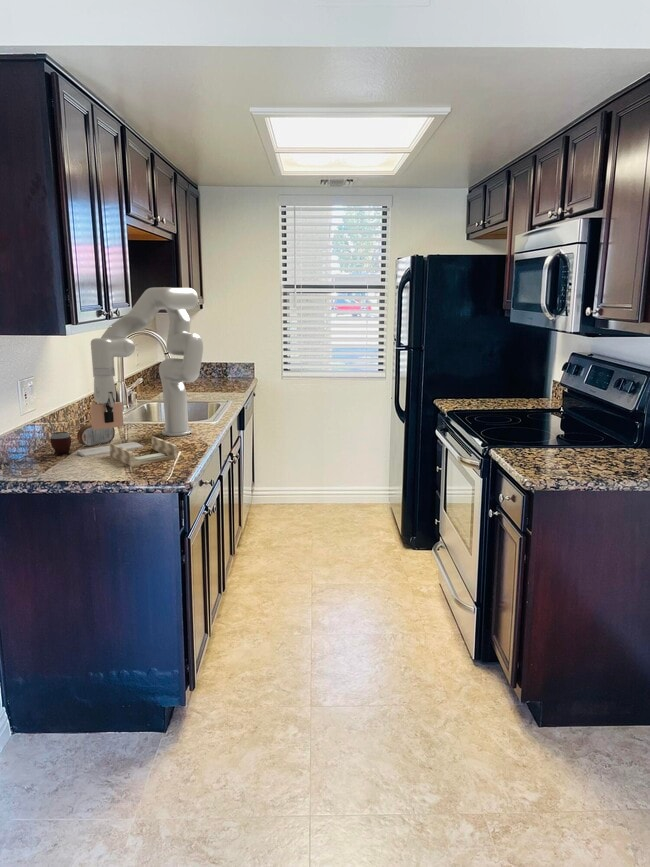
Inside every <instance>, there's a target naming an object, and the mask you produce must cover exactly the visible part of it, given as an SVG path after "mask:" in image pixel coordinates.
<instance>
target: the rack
mask: <svg viewBox="0 0 650 867" xmlns="http://www.w3.org/2000/svg"><path fill="white" fill-rule="evenodd" d="M108 444H109V445H108V446H110V453H109V456H110V457H111V458H114V459H116V460H118V461H120V462H121V463H124V464H126V465H128V466H130V467H135V466H140V465H146V464H151V463H157V462H162V461H168V460H173V459H178V447H177V444H174V443H172V442H170V441H167V440H164V439H161V438H159V437H156V436H151V450H153V451H157V453H162V454H165V456H163V457H158V458H152V459H146V460H141V461H135V462H134V458H135V457H136V456H135V457H134V452H133V451H131V450H126V449H124V448H122V447H120V446H118V445H117V444H116V443H113V442H109V443H108ZM157 453H155V454H157ZM151 454H152V453H151ZM151 454H149V455H151ZM146 455H147V454H146ZM146 455H143V456H146ZM140 456H141V455H140ZM140 456H138V457H140Z"/></svg>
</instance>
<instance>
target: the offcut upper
mask: <svg viewBox="0 0 650 867" xmlns="http://www.w3.org/2000/svg"><path fill="white" fill-rule="evenodd" d="M163 456H166V455H165V454H162V453H161V452H157V454H156V453H151V455H150V454H146V456H144V455H140V457H139V456H135V458H134V461H141V460H146V459H152V458H158V457H163Z"/></svg>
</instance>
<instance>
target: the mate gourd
mask: <svg viewBox="0 0 650 867" xmlns="http://www.w3.org/2000/svg"><path fill="white" fill-rule="evenodd" d="M40 417H41V418H42V419H44V420H46V421H47V423H48V425H49V426H50V427H51V429H52V431H53V433H52V434H51V436H50V439H49V440H50V441H49V442H50V446H51V447H52V449H53V451H54V453H53V454H54V455H55V456H56V457H59V456H63V455H65V456H67V455H68V456H69V455H71V452H70V450H71V445H72V437H71V435H70V434H69V432H67V431H57V432H56V430H55V429H54V426H53V424H52V421H51V420H49V418H47V417H45V416H42V415H41V416H40Z"/></svg>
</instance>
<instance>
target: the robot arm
mask: <svg viewBox="0 0 650 867" xmlns="http://www.w3.org/2000/svg"><path fill="white" fill-rule="evenodd" d="M198 302H199V297H198V293H197V291H196V290H194V289H193V288H191V287H170V286H169V287H167V286H163V287H161V286H160V287H149V288H147V289H145V290H144V292H143V293H142V294H141V295H140V297H139V298H138V300H137V301H136V303H135V304H134V305H133V307H132V308H131V309H130V311H128V312H127V314H125V315H124V316H122V317H120V318H118V319H117V320H116V321H115V322H113V323H112V324H111V325H110V326H112V327H110V326H109V327H108V328H107V329H106V330H105V332H104V333H103V334H102V335H101V337H100V338H98V337H97V338H93V339H91V341H90V351H91V352H90V353H91V363H92V373H93V374H92V375H93V394H94V395H93V397H94V398H93V399H94V401H95V402H96V404H104V407H105V412H104V419H105V423H110V422H114V417H113V407H114V403H115V402H117V393H116V386H115V378H114V377H116V372H115V358H127V357H130V356H131V355H133V354H134V352H135V350H136V349H135V348H136V346H135V343H134V341H133V340H132V339H131V338H129V337H127V336H129V335H132V334H134V333H137V332H140V331H143V330H144V329H146V328H148V327H149V325H150V324H151V323H152V322H153V320H154V318H155V317H156V316H157V314H158V313H159V311H160V310H165V311H166V313H167V315H168V319H169V323H168V331H167V338H166V344H165V345H166V351H167V352H168V354H170V355H172V356H180V357H183V358H178V357H177V358H175V357H171V358H170V357H169V358H165V359H164V360H162V361H161V362H160V364H159V366H158V374H159V378H160V382H161V387H162V398H163V399H162V400H163V410H164V411H163V414H164V429H163V430H161V435H162V436H166V435H167V436H169V437H180V436H181V437H182V436H188V435H190V433H191V434H192V433H193V429H192V428H190V427H189V414H188V398H187V397H188V396H187V390H186V386H185V383H194V382H195V381H197V379H198V378H199V376H200V371H201V367H202V361H203V360H202V359H203V353H204V341H203V340H202V338H201V336H200V335H199V334H197V333H196V332H191V318H190V315H189V314H188V312H187V310H192V309H194V308H195V307H197V305H198ZM107 405H108V406H107ZM187 434H188V435H187ZM167 436H166V437H167Z"/></svg>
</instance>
